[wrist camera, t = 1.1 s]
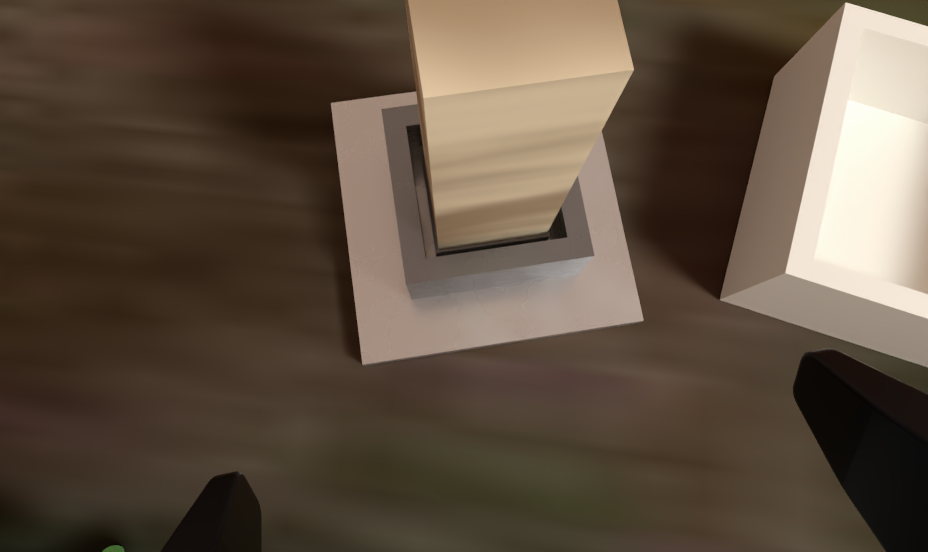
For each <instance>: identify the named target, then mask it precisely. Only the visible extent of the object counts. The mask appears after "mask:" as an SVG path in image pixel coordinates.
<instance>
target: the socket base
mask: <svg viewBox="0 0 928 552" xmlns="http://www.w3.org/2000/svg"><path fill="white" fill-rule="evenodd" d="M331 109H332V117H333V126H334V134H335V142H336V150H337V159H338V167H339V175H340V183H341V192H342V200H343V208H344V216H345V225H346V233H347V241H348V250H349V258H350V266H351V274H352V283H353V291H354V299H355V307H356V316H357V324H358V332H359V340H360V349H361V357H362V365H364V366H370V365H376V364H383V363H389V362H395V361H402V360H408V359H414V358H421V357H427V356H434V355H440V354H446V353H453V352H459V351H466V350H472V349H478V348H485V347H491V346H497V345H504V344H510V343H517V342H523V341H529V340H536V339H542V338H549V337H555V336H561V335H568V334H574V333H580V332H587V331H593V330H600V329H606V328H612V327H619V326H625V325H632V324H638V323H640V322H642V321H644V320H643V316H642V311H641V306H640V302H639V297H638V293H637V288H636V284H635V279H634V275H633V270H632V266H631V261H630V257H629V252H628V248H627V243H626V239H625V234H624V230H623V225H622V221H621V216H620V212H619V207H618V203H617V198H616V194H615V189H614V185H613V180H612V176H611V171H610V167H609V162H608V158H607V153H606V149H605V144H604V140H603V135H602V131H601V133H600V134H599V136H598V138H597V140H596V142H595V144H594V146H593V148H592V149H591V151H590V153H589V155H588V157H587V159H586V161H585V163H584V165H583V166H582V168H581V170H580V172H579V174H578V176H577V178H576V180H575V181H574V183H573V185H572V187H571V189H570V191H569V193H568V195H567V197H566V198H565V200H564V202H563V204H562V206H561V208H560V210H559V212H558V213H557V215H556V217H555V219H554V221H553V223H552V225H551V227H550V229H549V235H550V237H549V238H548V240H547V241H540V242H533V243H527V244H520V245H513V246H507V247H500V248H493V249H486V250H480V251H473V252H466V253H459V254H453V255H446V256H439V257H436V251H435V244H434V238H433V231H432V225H431V218H430V211H429V205H428V198H427V192H426V185H425V179H424V172H423V165H422V158H421V150H420V146H423V144H422V136H421V128H420V119H419V111H418V103H417V95H416V92H409V93H401V94H394V95H386V96H379V97H372V98H364V99H357V100H349V101H342V102H335V103H331Z"/></svg>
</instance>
